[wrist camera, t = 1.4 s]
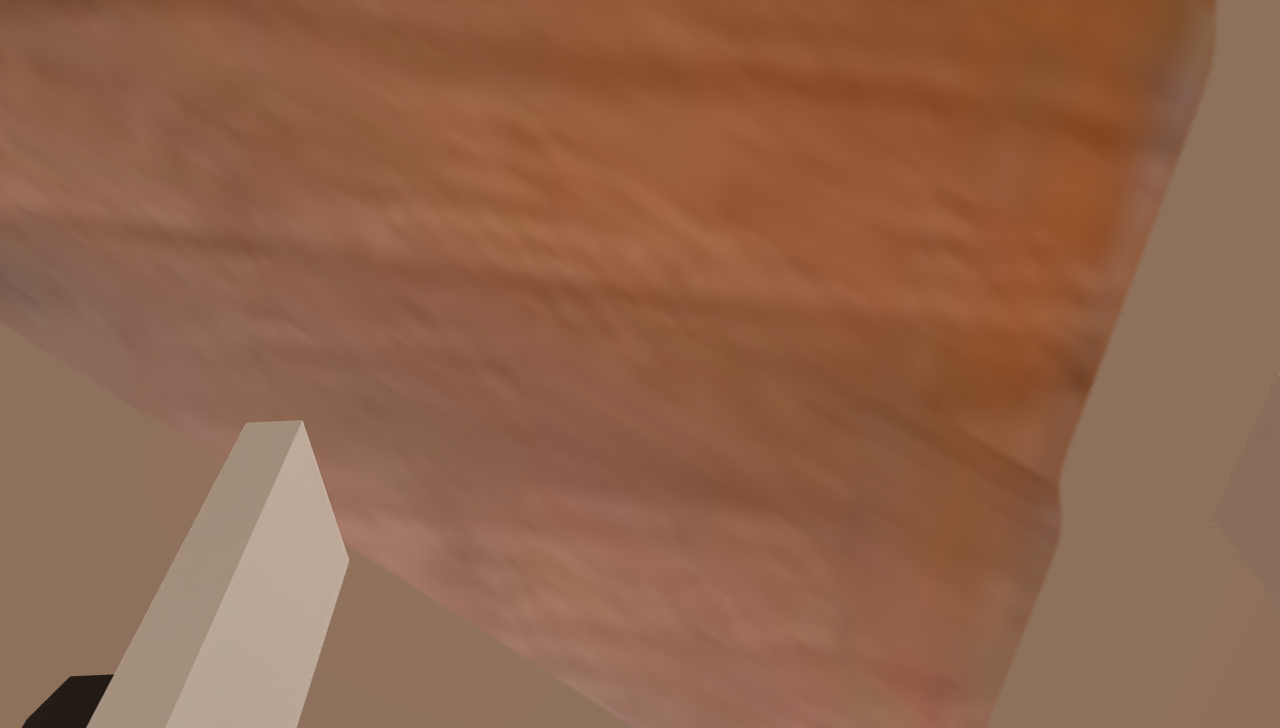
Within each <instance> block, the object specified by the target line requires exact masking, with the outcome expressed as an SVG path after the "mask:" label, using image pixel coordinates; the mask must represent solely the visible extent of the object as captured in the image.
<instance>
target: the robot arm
mask: <svg viewBox="0 0 1280 728" xmlns="http://www.w3.org/2000/svg"><path fill="white" fill-rule="evenodd" d="M1212 521H1213V523H1214V524H1215V526H1216V527H1217V528H1218V529H1219V531H1220V532H1221V534H1222V535H1223V536H1224V538H1225V539H1226V540H1227V542H1228V543H1229V544H1230V546H1231V547H1232V548H1233V550H1234V551H1235V552H1236V554H1237V555H1238V557H1239V558H1240V559H1241V561H1242V562H1243V563H1244V564H1245V566H1246V567H1247V569H1248V570H1249V571H1250V572H1251V574H1252V575H1253V577H1254V578H1255V579H1256V581H1257V582H1258V583H1259V585H1260V586H1261V587H1262V589H1263V590H1264V591H1265V593H1266V594H1267V595H1268V597H1269V598H1270V600H1271V601H1272V602H1273V604H1274V605H1275V606H1276V608H1277V609H1278V610H1279V612H1280V373H1277V375H1276V377H1275V380H1274V382H1273V384H1272V386H1271V388H1270V391H1269V393H1268V395H1267V397H1266V400H1265V402H1264V404H1263V406H1262V409H1261V411H1260V413H1259V415H1258V417H1257V420H1256V422H1255V424H1254V426H1253V428H1252V431H1251V433H1250V435H1249V437H1248V440H1247V442H1246V444H1245V446H1244V448H1243V451H1242V453H1241V455H1240V457H1239V460H1238V462H1237V464H1236V466H1235V468H1234V471H1233V473H1232V475H1231V478H1230V480H1229V482H1228V484H1227V486H1226V488H1225V491H1224V493H1223V495H1222V497H1221V500H1220V502H1219V504H1218V507H1217V508H1216V511H1215V513H1214V515H1213V518H1212ZM348 563H349V558H348V555H347V553H346V549H345V546H344V543H343V540H342V537H341V534H340V531H339V528H338V525H337V522H336V519H335V516H334V513H333V510H332V507H331V504H330V501H329V498H328V495H327V492H326V489H325V486H324V483H323V480H322V477H321V474H320V471H319V468H318V465H317V462H316V459H315V456H314V453H313V450H312V447H311V444H310V441H309V438H308V436H307V433H306V430H305V427H304V424H303V421H302V420H297V421H276V422H256V423H246V424H245V426H244V428H243V430H242V432H241V433H240V435H239V437H238V439H237V441H236V443H235V445H234V447H233V449H232V451H231V453H230V454H229V456H228V458H227V460H226V462H225V464H224V466H223V468H222V470H221V472H220V474H219V476H218V477H217V479H216V481H215V483H214V485H213V487H212V489H211V491H210V493H209V495H208V496H207V498H206V500H205V502H204V504H203V506H202V508H201V510H200V512H199V514H198V516H197V518H196V519H195V521H194V523H193V525H192V527H191V529H190V531H189V533H188V535H187V537H186V538H185V540H184V542H183V544H182V546H181V548H180V550H179V552H178V554H177V556H176V558H175V559H174V561H173V563H172V565H171V567H170V569H169V571H168V573H167V575H166V577H165V579H164V581H163V582H162V584H161V586H160V588H159V590H158V592H157V594H156V596H155V598H154V600H153V601H152V603H151V605H150V607H149V609H148V611H147V613H146V615H145V617H144V619H143V621H142V622H141V624H140V626H139V628H138V630H137V632H136V634H135V636H134V638H133V640H132V642H131V644H130V645H129V647H128V649H127V651H126V653H125V655H124V657H123V659H122V661H121V663H120V665H119V666H118V668H117V670H116V672H115V674H113V675H92V676H71V677H69V678H68V679H67V680H66V681H65V682H64V683H63V684H62V685H61V686H60V687H59V688H58V689H57V690H56V691H55V692H54V693H53V694H52V695H51V696H50V697H49V698H48V699H47V700H46V701H45V702H44V703H43V704H42V705H41V706H40V707H39V708H38V709H37V710H36V711H35V712H34V713H33V714H32V715H31V716H30V717H29V718H28V719H27V720H26V722H25V723H24V725H23V727H22V728H297V724H298V721H299V718H300V715H301V712H302V709H303V705H304V702H305V699H306V696H307V693H308V690H309V686H310V683H311V680H312V677H313V674H314V670H315V667H316V664H317V661H318V658H319V655H320V652H321V648H322V645H323V642H324V639H325V636H326V632H327V629H328V626H329V623H330V620H331V617H332V613H333V610H334V607H335V604H336V601H337V598H338V594H339V591H340V588H341V585H342V582H343V579H344V576H345V572H346V569H347V566H348Z"/></svg>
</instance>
